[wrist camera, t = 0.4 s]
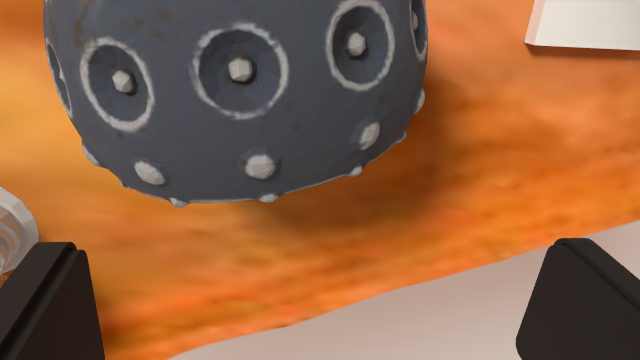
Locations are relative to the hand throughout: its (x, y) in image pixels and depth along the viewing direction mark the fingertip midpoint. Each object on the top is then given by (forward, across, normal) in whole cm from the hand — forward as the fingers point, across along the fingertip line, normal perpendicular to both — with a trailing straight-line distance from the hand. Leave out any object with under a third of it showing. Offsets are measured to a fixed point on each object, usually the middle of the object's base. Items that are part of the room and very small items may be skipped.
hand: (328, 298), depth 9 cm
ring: (+30, +2, -1) cm, 30 cm away
